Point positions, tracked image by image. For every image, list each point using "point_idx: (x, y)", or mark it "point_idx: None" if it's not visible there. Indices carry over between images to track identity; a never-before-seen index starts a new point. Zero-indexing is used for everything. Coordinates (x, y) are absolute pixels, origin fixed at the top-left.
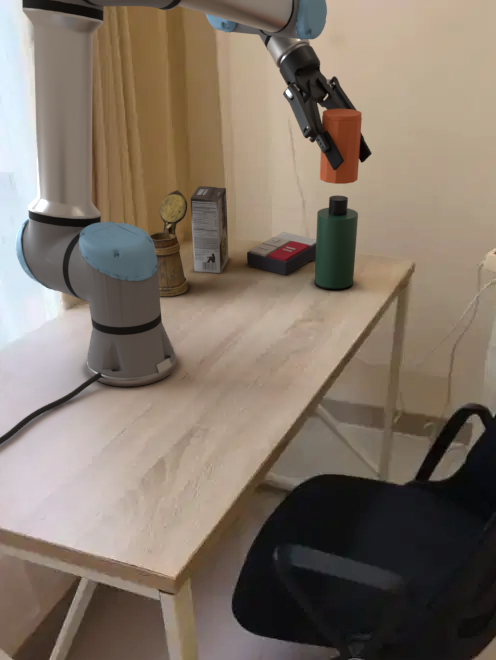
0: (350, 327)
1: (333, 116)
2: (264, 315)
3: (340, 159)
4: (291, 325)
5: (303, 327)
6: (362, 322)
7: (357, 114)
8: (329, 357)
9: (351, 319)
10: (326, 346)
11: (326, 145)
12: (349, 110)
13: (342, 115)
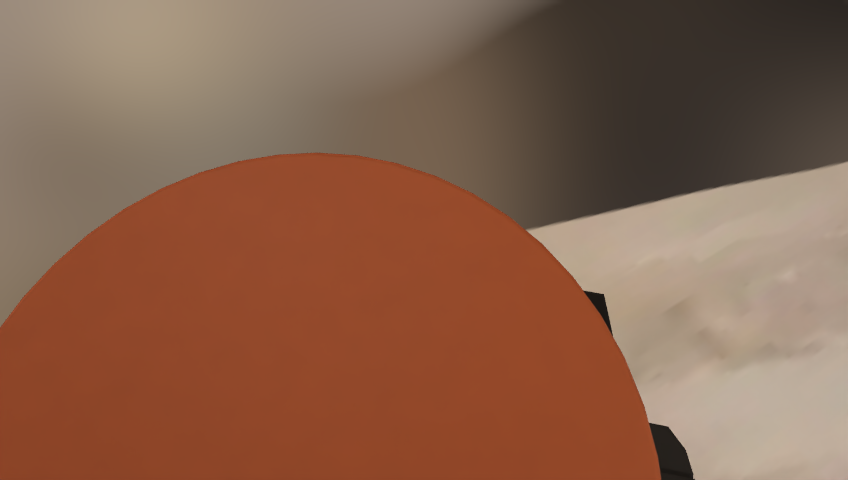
0: (661, 227)
1: (653, 469)
2: (773, 470)
3: (605, 306)
4: (766, 361)
5: (751, 326)
6: (614, 218)
7: (302, 178)
8: (837, 185)
9: (618, 249)
10: (795, 219)
11: (671, 452)
12: (39, 466)
13: (530, 334)
